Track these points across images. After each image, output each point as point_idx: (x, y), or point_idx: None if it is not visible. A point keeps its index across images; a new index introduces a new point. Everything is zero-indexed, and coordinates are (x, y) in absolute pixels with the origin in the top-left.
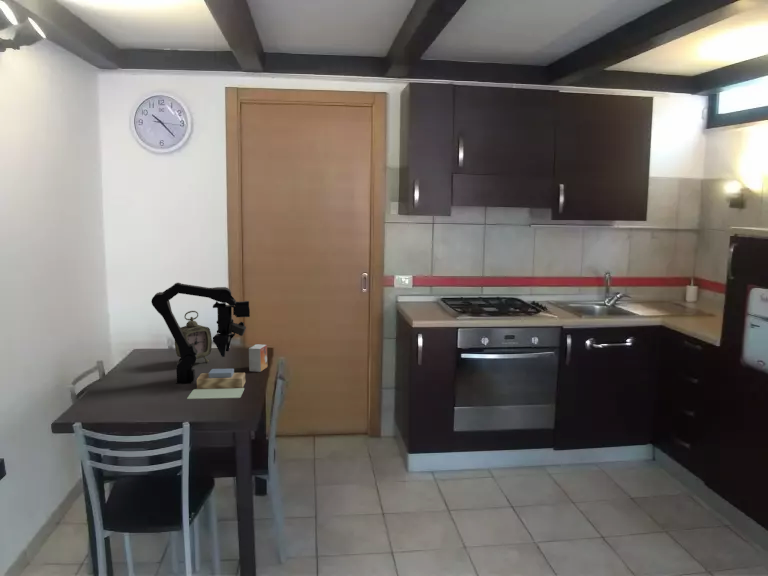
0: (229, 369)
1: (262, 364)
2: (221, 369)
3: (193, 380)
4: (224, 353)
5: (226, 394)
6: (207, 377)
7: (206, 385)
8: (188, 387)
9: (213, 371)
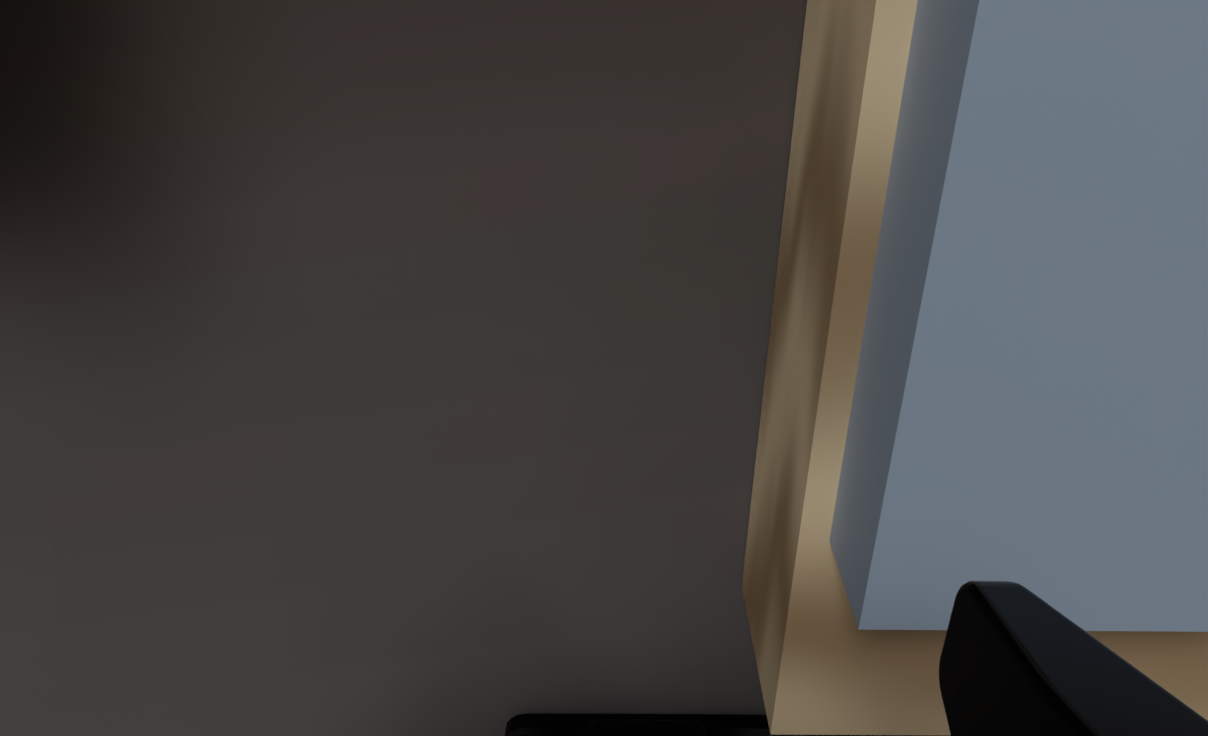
0: (1075, 113)
1: None
2: (997, 378)
3: (702, 725)
4: (1179, 725)
5: None
6: None
7: None
8: None
9: (1138, 551)
